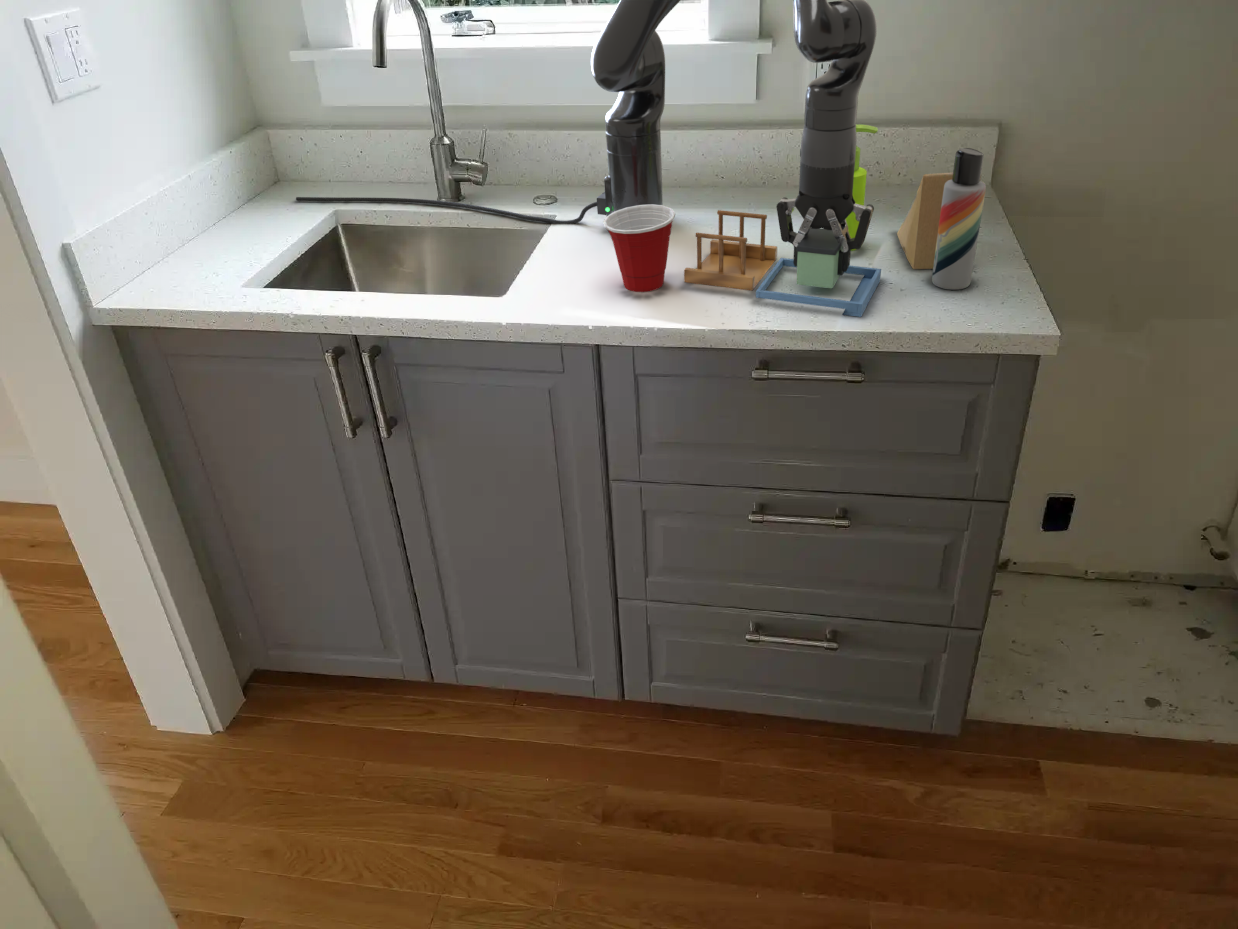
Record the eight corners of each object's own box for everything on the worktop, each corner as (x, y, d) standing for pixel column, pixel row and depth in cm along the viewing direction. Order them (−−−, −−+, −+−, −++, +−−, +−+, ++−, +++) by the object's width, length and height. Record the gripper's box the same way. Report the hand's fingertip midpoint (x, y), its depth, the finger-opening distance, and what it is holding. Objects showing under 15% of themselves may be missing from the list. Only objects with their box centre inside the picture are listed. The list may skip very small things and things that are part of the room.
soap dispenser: (866, 257, 157) (878, 131, 146) (822, 256, 158) (831, 131, 147) (866, 244, 162) (877, 120, 150) (823, 243, 163) (831, 120, 152)
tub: (794, 284, 144) (796, 246, 141) (808, 264, 150) (810, 227, 146) (833, 289, 142) (835, 250, 139) (845, 268, 148) (848, 230, 144)
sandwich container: (947, 231, 164) (960, 141, 156) (968, 268, 152) (983, 172, 143) (895, 233, 165) (905, 143, 156) (911, 269, 152) (923, 174, 144)
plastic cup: (608, 276, 156) (604, 203, 150) (676, 274, 156) (674, 200, 149) (606, 305, 147) (601, 229, 141) (677, 302, 147) (676, 226, 140)
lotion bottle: (926, 276, 150) (943, 145, 138) (962, 273, 150) (982, 142, 139) (939, 291, 145) (958, 157, 134) (976, 288, 145) (998, 153, 134)
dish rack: (684, 287, 151) (683, 234, 146) (712, 256, 161) (712, 206, 156) (752, 296, 147) (753, 242, 142) (776, 264, 157) (778, 212, 152)
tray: (755, 303, 145) (755, 290, 144) (780, 269, 155) (780, 257, 154) (861, 317, 140) (862, 304, 138) (879, 280, 149) (881, 268, 148)
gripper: (885, 152, 136) (874, 266, 146) (785, 146, 141) (780, 256, 151) (874, 169, 131) (863, 286, 140) (770, 161, 136) (766, 275, 145)
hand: (820, 270), depth 145 cm, fingers closed on tub, 5 cm apart
